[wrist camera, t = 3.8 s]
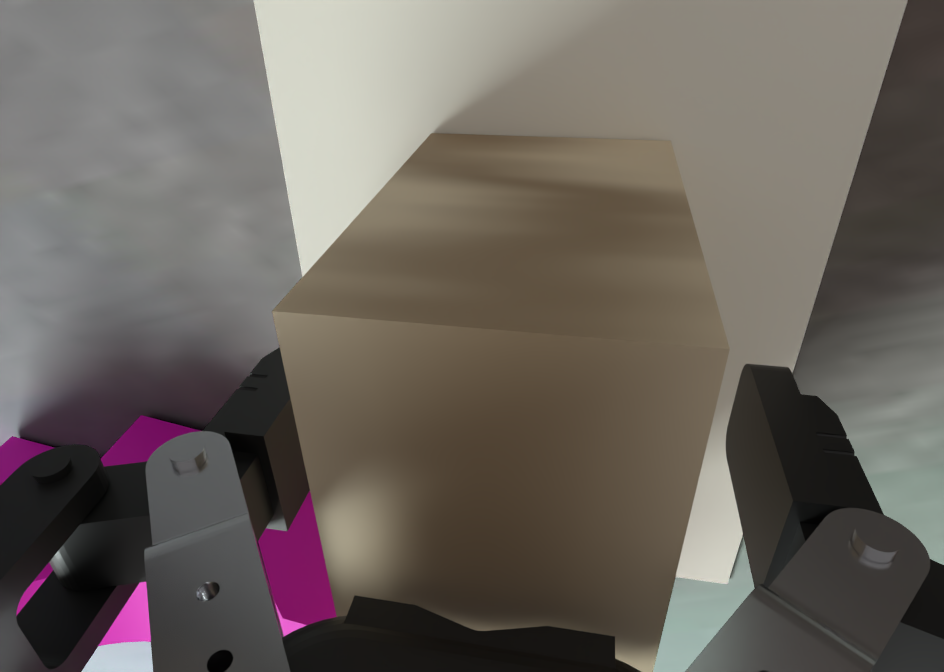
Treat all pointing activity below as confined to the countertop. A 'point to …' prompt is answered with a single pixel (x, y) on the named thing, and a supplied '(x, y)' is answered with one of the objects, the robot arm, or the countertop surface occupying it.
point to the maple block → (510, 386)
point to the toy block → (284, 552)
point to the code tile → (607, 136)
